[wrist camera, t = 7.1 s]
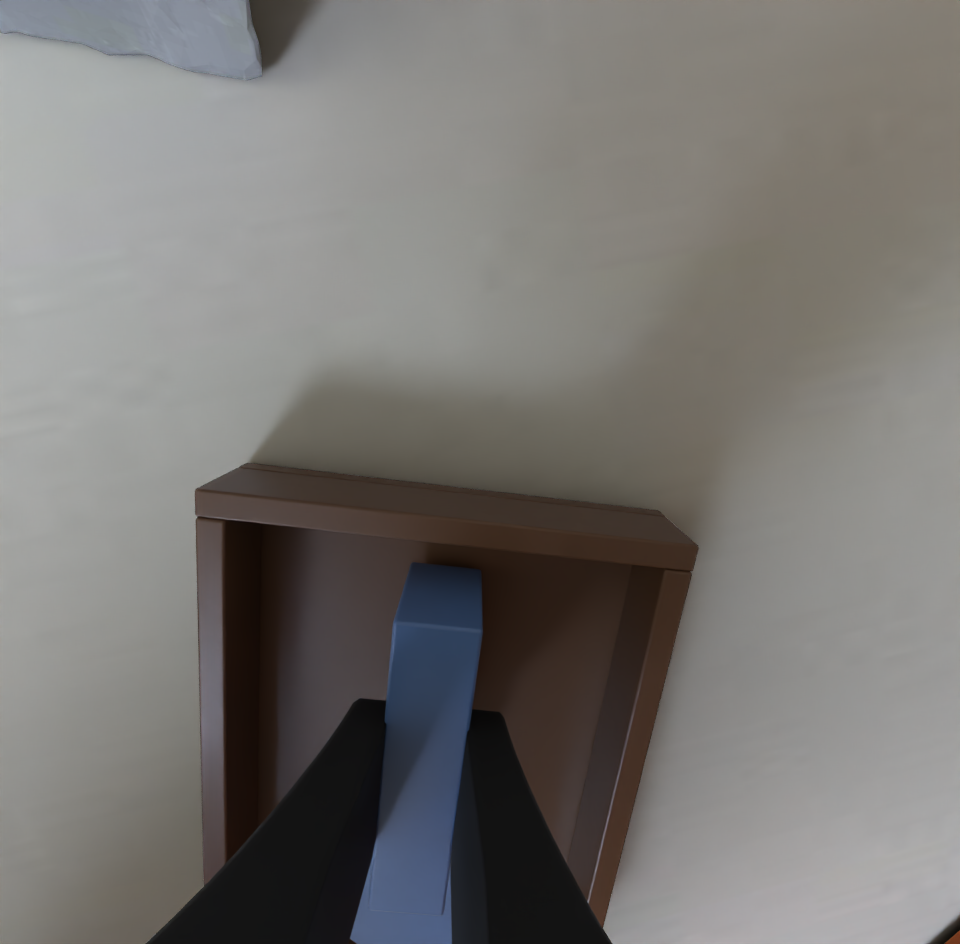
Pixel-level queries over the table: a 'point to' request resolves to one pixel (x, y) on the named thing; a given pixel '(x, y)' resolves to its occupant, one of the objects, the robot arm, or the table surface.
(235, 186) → the table surface
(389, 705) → the blue spoon
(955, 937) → the book
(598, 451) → the table surface
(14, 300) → the table surface
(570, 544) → the tray
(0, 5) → the mineral specimen
